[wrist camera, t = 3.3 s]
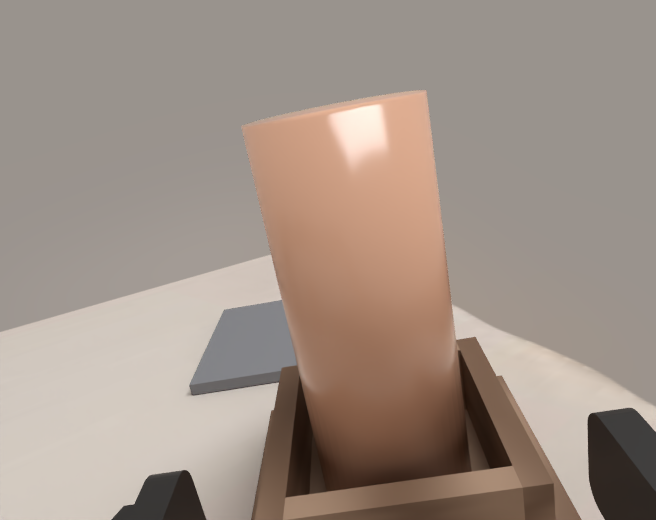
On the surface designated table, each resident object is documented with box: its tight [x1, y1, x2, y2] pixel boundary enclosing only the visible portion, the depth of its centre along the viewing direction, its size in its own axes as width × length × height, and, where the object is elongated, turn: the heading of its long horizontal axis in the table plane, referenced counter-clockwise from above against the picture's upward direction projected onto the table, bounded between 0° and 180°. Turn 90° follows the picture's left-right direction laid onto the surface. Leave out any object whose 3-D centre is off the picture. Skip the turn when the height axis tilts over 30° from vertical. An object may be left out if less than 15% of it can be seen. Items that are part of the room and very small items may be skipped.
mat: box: [189, 300, 297, 395], centre depth 41 cm, size 12×12×1 cm
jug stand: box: [251, 337, 581, 520], centre depth 23 cm, size 13×13×5 cm
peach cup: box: [242, 90, 472, 492], centre depth 22 cm, size 9×6×16 cm
